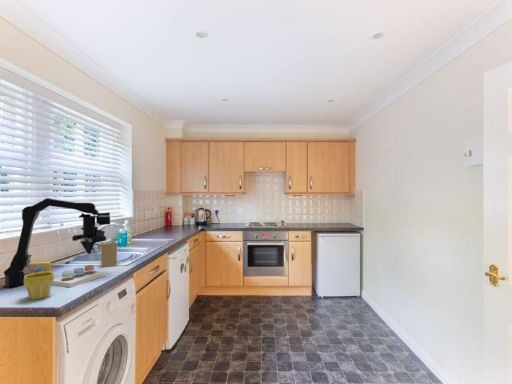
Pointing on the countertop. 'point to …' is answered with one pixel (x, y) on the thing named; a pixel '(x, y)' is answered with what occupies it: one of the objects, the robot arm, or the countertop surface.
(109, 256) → the sandwich container
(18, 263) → the robot arm
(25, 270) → the candy box
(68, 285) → the button board
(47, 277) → the plant pot
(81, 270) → the slate button
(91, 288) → the countertop surface
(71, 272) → the sage button
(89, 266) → the terracotta button
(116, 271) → the countertop surface
